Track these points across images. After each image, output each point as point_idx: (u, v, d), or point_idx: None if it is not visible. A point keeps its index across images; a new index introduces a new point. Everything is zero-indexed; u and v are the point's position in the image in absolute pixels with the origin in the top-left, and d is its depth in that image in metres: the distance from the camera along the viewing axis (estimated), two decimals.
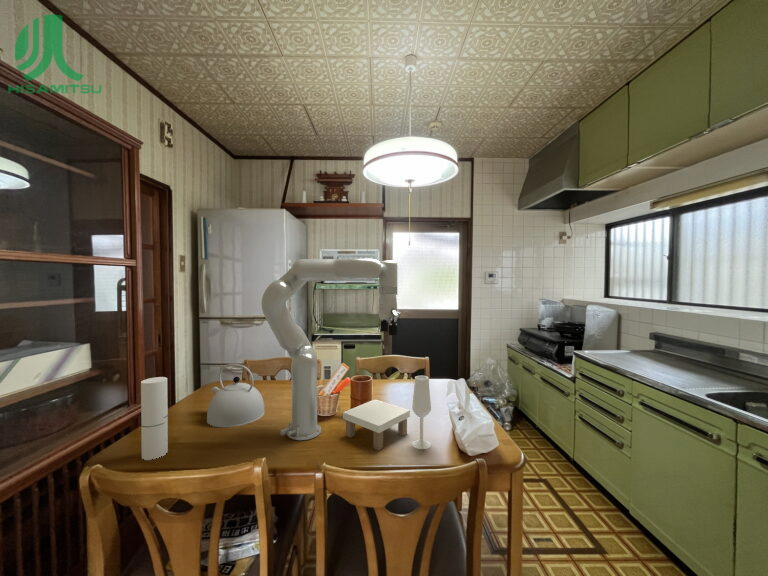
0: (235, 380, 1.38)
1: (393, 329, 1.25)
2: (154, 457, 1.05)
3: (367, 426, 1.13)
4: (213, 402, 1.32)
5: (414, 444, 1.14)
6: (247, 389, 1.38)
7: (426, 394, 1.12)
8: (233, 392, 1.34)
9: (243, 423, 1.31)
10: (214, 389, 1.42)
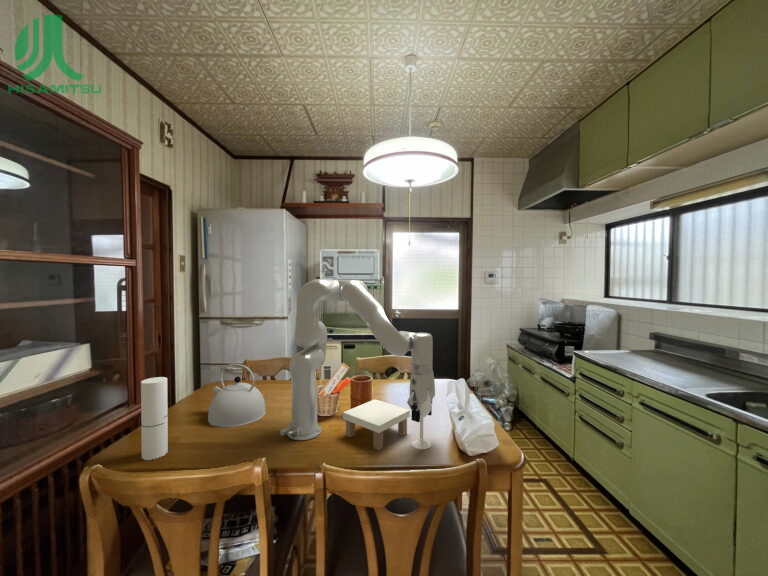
0: (236, 380, 1.38)
1: None
2: (154, 457, 1.05)
3: (367, 426, 1.13)
4: (214, 402, 1.32)
5: (414, 444, 1.14)
6: (248, 389, 1.38)
7: None
8: (234, 392, 1.34)
9: (244, 423, 1.31)
10: (215, 389, 1.42)
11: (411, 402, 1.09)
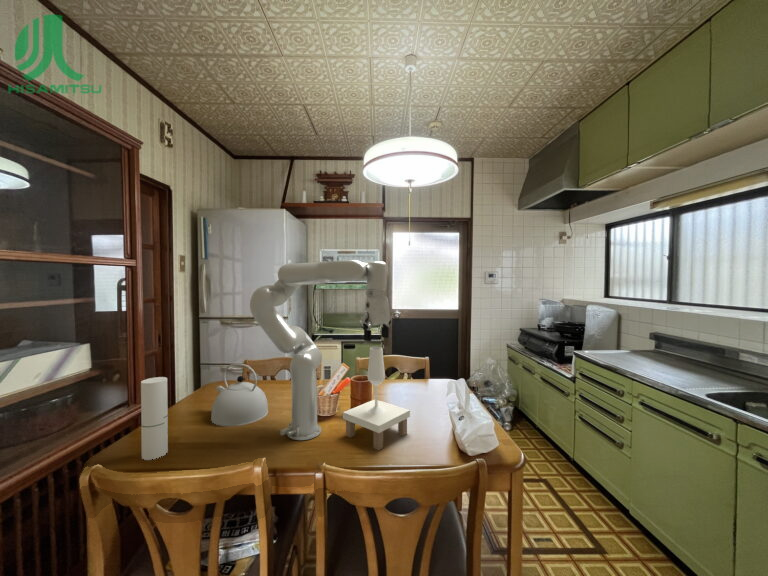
0: (239, 379, 1.39)
1: None
2: (154, 457, 1.05)
3: (367, 426, 1.13)
4: (217, 401, 1.33)
5: (369, 411, 1.21)
6: (250, 389, 1.38)
7: (380, 363, 1.19)
8: (236, 391, 1.35)
9: (246, 422, 1.31)
10: (219, 388, 1.43)
11: (363, 320, 1.16)
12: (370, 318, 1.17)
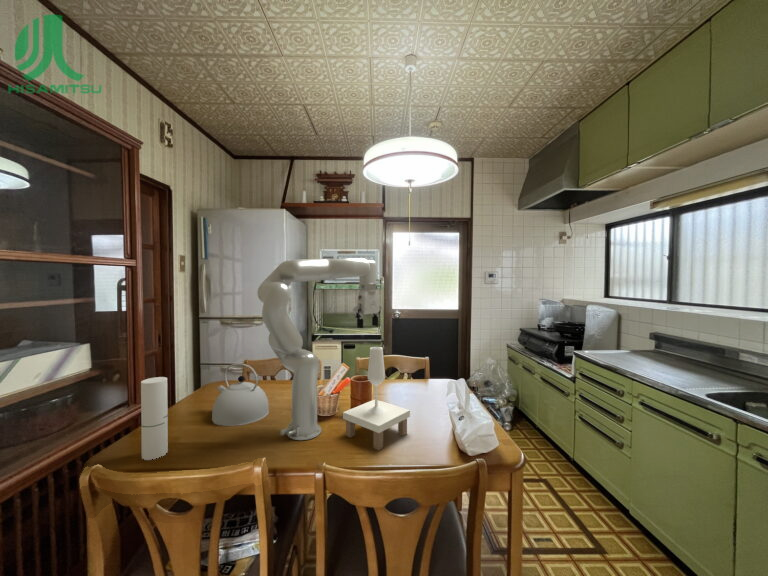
0: (240, 379, 1.39)
1: None
2: (154, 457, 1.05)
3: (367, 426, 1.13)
4: (218, 401, 1.34)
5: (369, 411, 1.21)
6: (251, 388, 1.38)
7: (380, 363, 1.20)
8: (237, 391, 1.35)
9: (247, 422, 1.31)
10: (220, 388, 1.43)
11: (356, 310, 1.36)
12: (362, 308, 1.38)
